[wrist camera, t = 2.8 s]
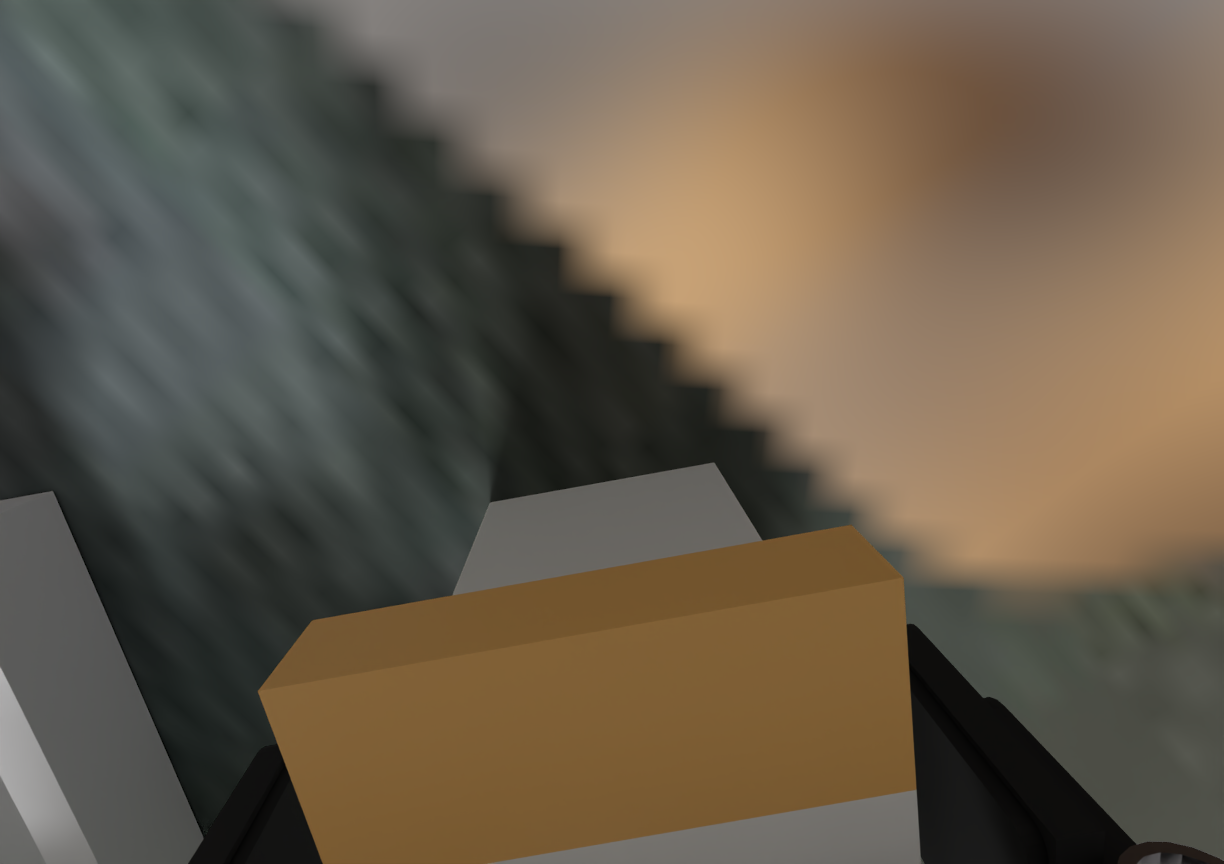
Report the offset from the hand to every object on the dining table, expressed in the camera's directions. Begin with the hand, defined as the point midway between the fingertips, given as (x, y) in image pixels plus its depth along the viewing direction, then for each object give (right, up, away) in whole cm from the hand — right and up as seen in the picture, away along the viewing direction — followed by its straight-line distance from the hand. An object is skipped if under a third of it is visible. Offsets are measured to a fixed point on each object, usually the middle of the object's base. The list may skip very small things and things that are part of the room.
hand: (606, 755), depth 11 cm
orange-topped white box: (+1, +1, +4) cm, 4 cm away
